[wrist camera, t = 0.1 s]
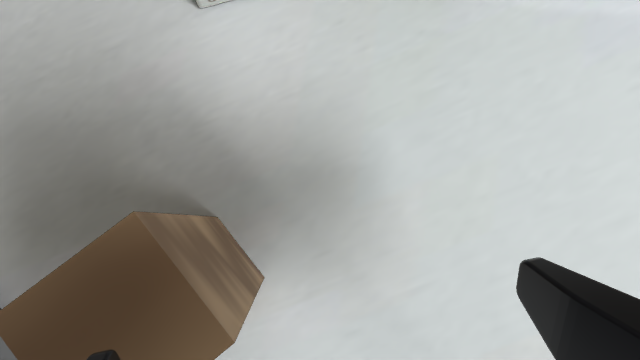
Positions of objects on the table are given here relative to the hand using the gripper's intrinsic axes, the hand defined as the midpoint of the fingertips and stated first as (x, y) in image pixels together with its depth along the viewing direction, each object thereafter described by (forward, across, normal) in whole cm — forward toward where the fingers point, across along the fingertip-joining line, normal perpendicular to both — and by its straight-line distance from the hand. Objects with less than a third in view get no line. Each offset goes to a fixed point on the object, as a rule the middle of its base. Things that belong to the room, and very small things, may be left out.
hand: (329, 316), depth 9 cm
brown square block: (+13, +6, +8) cm, 16 cm away
